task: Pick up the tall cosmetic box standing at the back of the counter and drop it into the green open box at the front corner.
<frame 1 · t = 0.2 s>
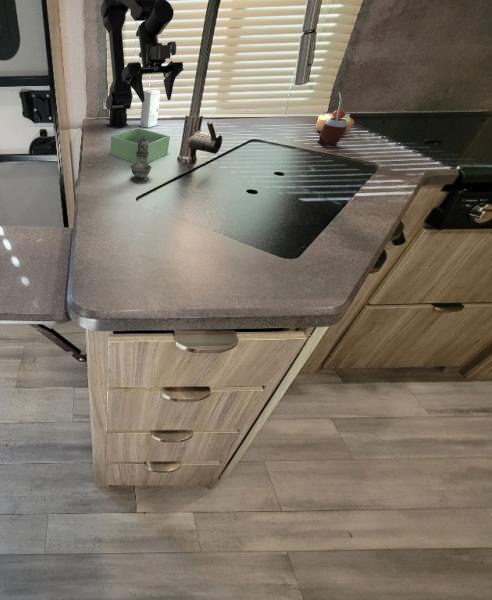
hand: (156, 101, 102), 15 cm above the table, tool tilted 30°, fingers open, 9 cm apart
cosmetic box: (148, 125, 134), on the table
mate gourd: (325, 144, 117), on the table
pastry: (330, 132, 126), on the table
green open box: (139, 154, 109), on the table
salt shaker: (139, 180, 94), on the table
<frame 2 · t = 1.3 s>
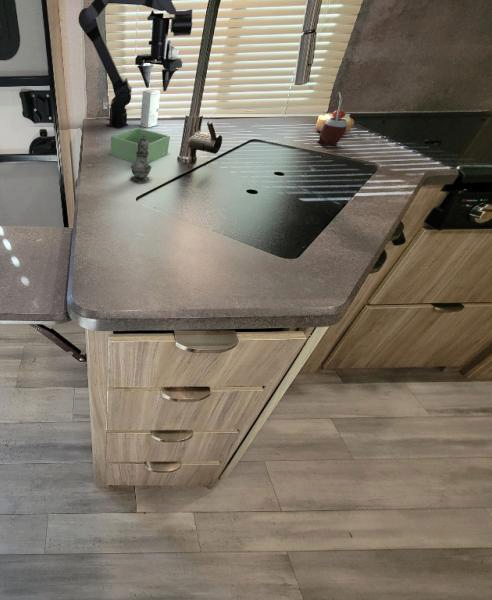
hand: (155, 89, 124), 13 cm above the table, tool pointing down, fingers open, 9 cm apart
nothing on the table moved.
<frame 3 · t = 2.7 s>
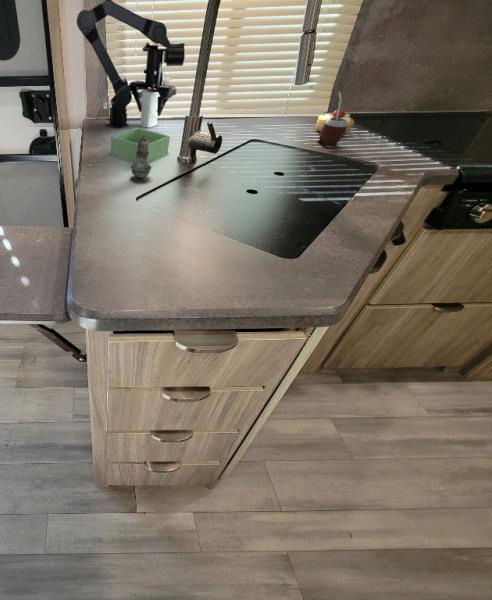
hand: (149, 113, 131), 4 cm above the table, tool pointing down
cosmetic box: (148, 126, 134), on the table, touching gripper
everything else where it was.
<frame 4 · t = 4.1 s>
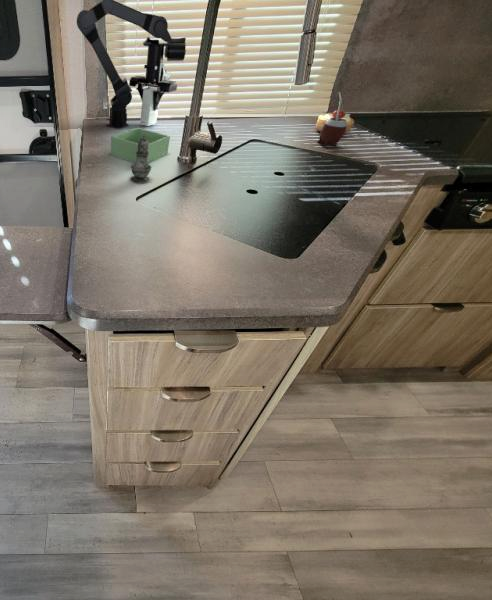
hand: (150, 109, 130), 6 cm above the table, tool pointing down, fingers closed on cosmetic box, 4 cm apart
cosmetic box: (148, 124, 133), on the table, touching gripper
everything else where it was.
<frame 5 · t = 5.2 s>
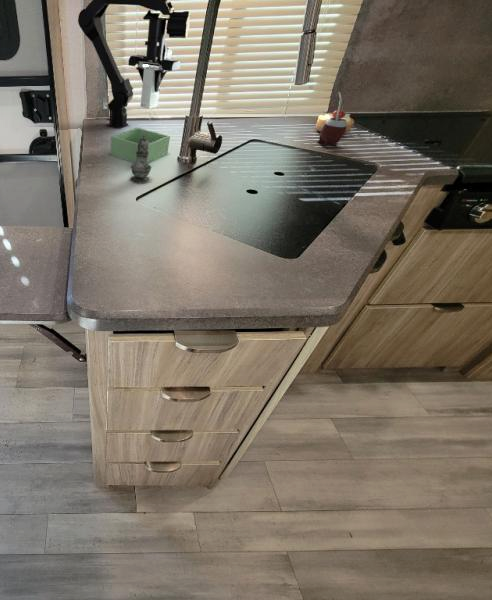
hand: (150, 91, 121), 13 cm above the table, tool pointing down, fingers closed on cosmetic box, 4 cm apart
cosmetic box: (148, 107, 125), point 8 cm above the table, touching gripper
everything else where it was.
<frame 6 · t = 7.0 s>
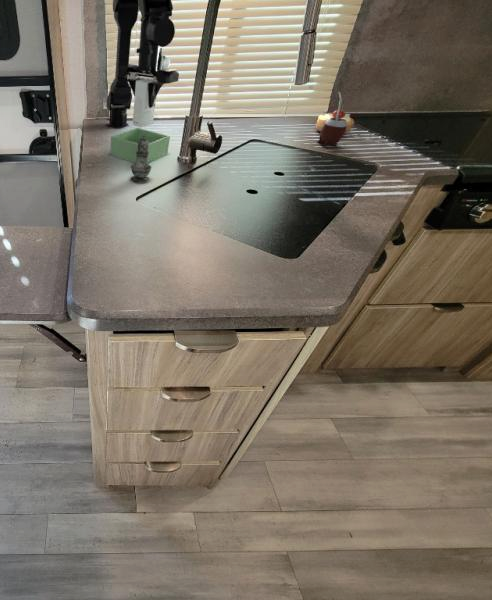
hand: (144, 106, 102), 13 cm above the table, tool pointing down, fingers closed on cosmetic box, 4 cm apart
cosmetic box: (142, 124, 106), point 8 cm above the table, touching gripper
everything else where it was.
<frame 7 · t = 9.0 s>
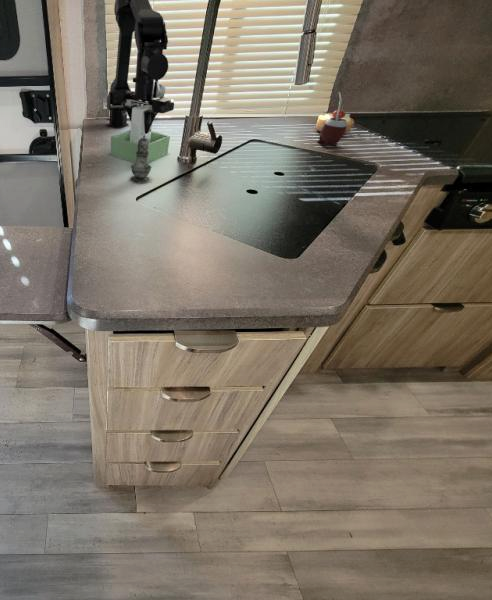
hand: (140, 131, 105), 7 cm above the table, tool pointing down, fingers closed on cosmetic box, 4 cm apart
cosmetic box: (138, 148, 108), point 2 cm above the table, touching gripper
everything else where it was.
when the fingers open (6 cm above the table, at t = 9.6 s): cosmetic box stays where it is, resting on green open box.
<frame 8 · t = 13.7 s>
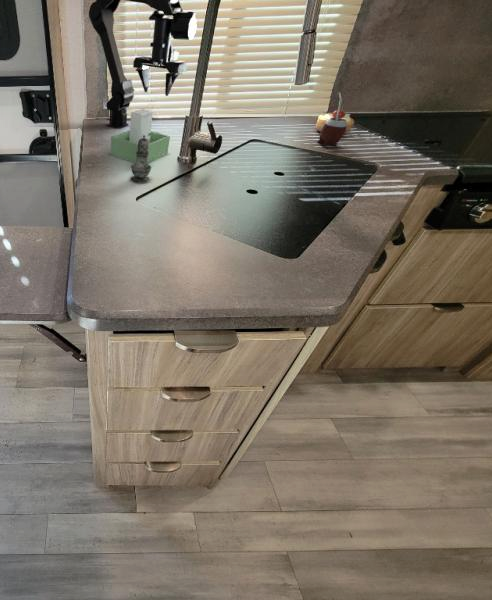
hand: (156, 93, 118), 13 cm above the table, tool pointing down, fingers open, 9 cm apart
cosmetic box: (138, 152, 109), resting on green open box
everything else where it was.
at the end: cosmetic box inside the target area in the green open box (0.3 cm from its centre), point 0.4 cm above the green open box's base; the gripper is holding nothing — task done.
